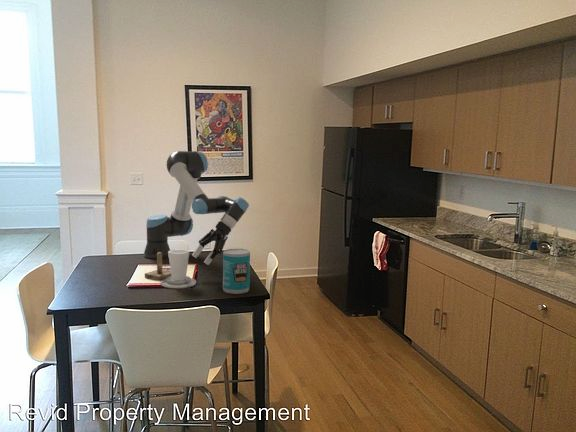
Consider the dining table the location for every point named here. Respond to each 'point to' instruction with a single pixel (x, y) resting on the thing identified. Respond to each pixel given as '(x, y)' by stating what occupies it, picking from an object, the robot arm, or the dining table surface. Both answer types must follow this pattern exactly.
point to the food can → (236, 271)
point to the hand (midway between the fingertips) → (199, 260)
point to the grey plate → (178, 283)
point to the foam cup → (178, 263)
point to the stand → (158, 270)
